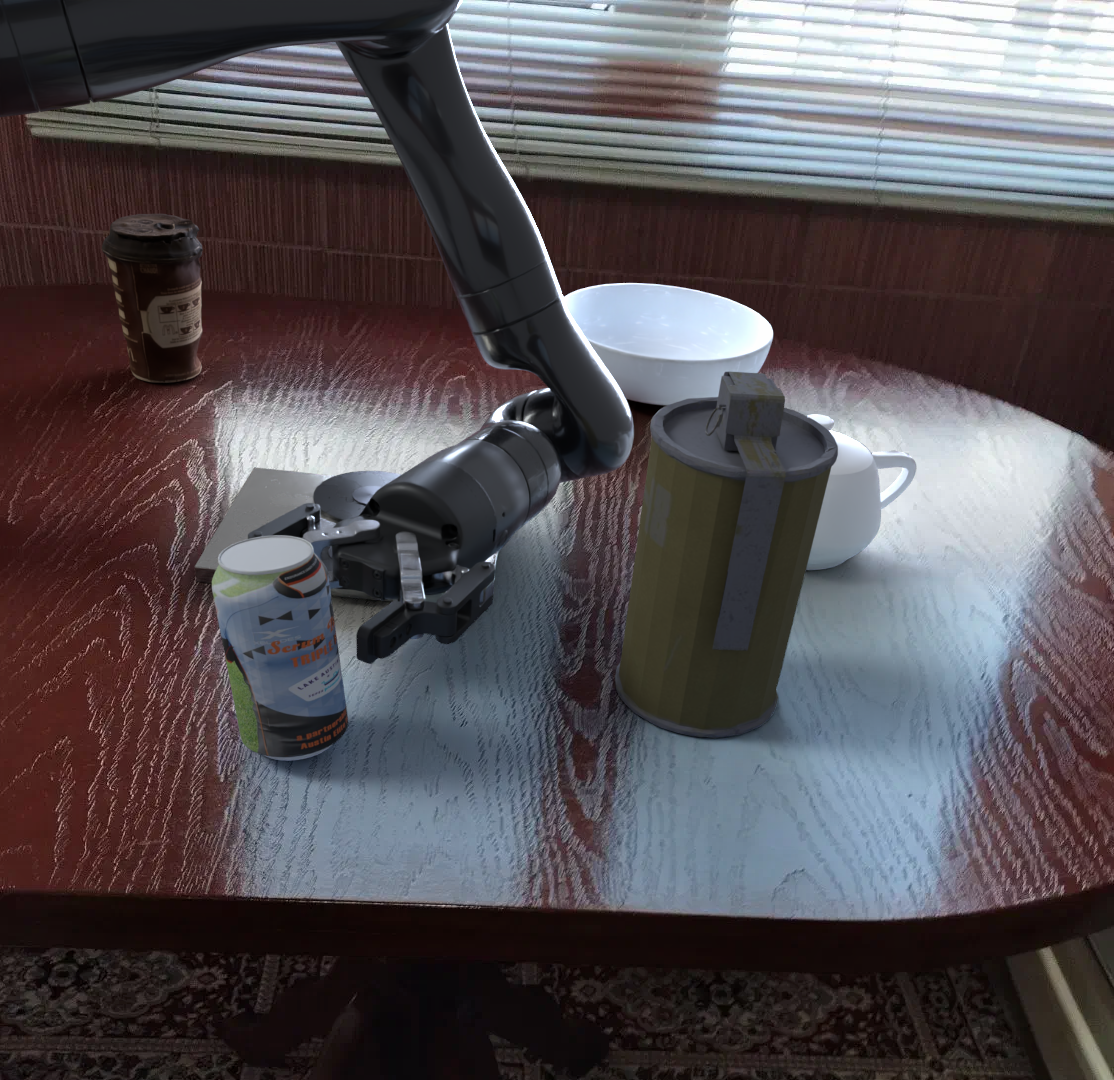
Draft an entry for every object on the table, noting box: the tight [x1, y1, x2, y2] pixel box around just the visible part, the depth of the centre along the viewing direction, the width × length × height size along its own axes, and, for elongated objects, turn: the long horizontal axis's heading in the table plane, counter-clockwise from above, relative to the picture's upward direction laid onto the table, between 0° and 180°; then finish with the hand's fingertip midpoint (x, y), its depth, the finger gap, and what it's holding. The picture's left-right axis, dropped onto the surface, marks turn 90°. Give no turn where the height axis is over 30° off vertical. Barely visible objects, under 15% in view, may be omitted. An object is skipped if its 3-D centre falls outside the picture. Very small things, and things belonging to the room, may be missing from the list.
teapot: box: [806, 413, 917, 571], centre depth 91 cm, size 20×12×10 cm, turn 108°
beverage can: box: [211, 535, 349, 762], centre depth 66 cm, size 6×7×12 cm
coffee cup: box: [101, 213, 204, 384], centre depth 107 cm, size 9×8×13 cm
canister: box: [614, 371, 838, 739], centre depth 71 cm, size 11×10×20 cm
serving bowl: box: [563, 282, 774, 406], centre depth 116 cm, size 21×21×7 cm
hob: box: [194, 467, 501, 613], centre depth 88 cm, size 20×18×2 cm
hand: (297, 624), depth 66 cm, fingers open, 8 cm apart
